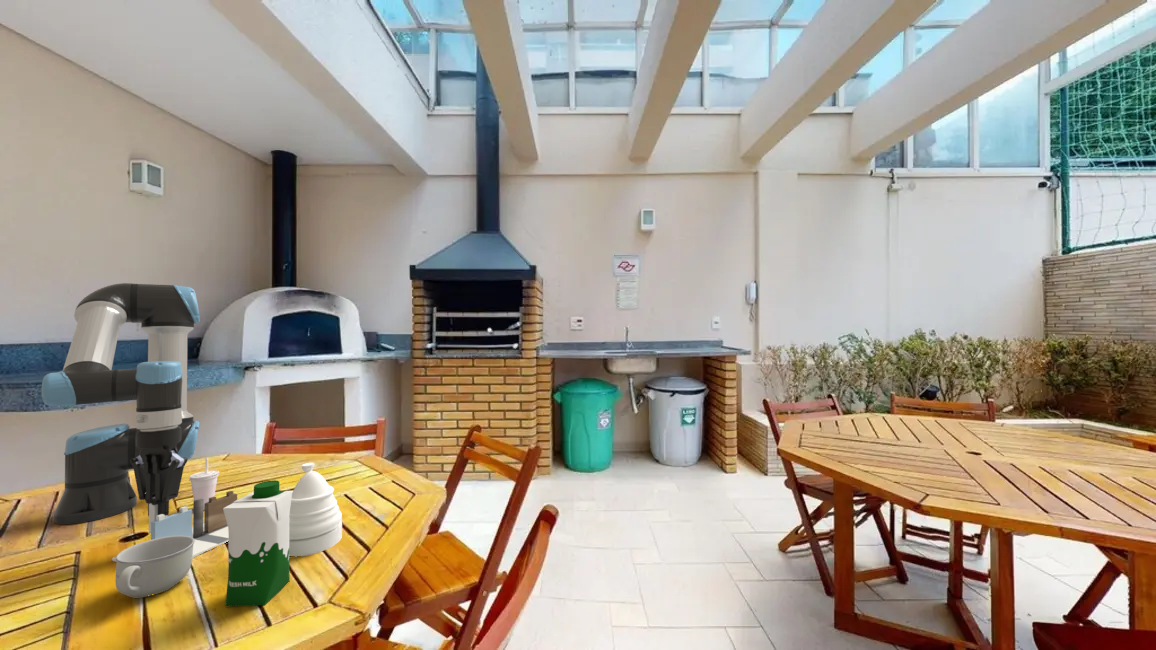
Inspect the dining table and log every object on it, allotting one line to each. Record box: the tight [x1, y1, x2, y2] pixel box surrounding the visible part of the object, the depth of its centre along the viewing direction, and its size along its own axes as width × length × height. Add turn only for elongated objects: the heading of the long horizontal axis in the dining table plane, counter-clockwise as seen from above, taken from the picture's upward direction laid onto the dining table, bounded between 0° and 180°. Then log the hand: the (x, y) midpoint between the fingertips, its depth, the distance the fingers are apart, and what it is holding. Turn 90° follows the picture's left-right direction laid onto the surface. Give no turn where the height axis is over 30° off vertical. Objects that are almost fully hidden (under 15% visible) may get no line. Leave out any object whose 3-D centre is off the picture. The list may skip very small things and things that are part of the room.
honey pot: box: [289, 462, 343, 558], centre depth 99 cm, size 13×13×18 cm
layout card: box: [111, 522, 229, 563], centre depth 99 cm, size 16×21×1 cm
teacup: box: [114, 536, 195, 599], centre depth 80 cm, size 14×11×8 cm
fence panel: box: [150, 506, 193, 540], centre depth 96 cm, size 1×7×8 cm, turn 164°
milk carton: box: [223, 479, 293, 607], centre depth 79 cm, size 9×9×20 cm
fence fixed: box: [192, 490, 238, 538], centre depth 104 cm, size 2×9×9 cm, turn 163°
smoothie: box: [188, 457, 220, 511], centre depth 119 cm, size 6×6×14 cm
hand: (158, 530), depth 96 cm, fingers closed
